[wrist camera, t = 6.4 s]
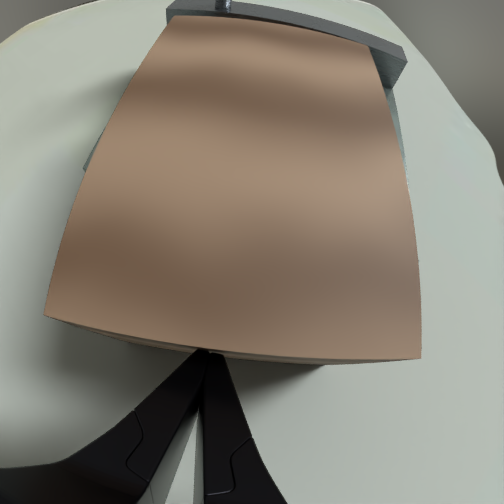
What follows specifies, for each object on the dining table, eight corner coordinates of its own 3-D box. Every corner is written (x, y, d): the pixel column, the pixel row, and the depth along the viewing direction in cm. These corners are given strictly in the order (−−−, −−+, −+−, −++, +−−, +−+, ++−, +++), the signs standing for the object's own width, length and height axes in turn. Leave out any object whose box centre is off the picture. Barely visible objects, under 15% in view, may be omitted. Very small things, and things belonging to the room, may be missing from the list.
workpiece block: (324, 364, 16) (421, 358, 8) (127, 341, 15) (43, 315, 7) (325, 139, 22) (367, 45, 14) (180, 118, 21) (174, 15, 13)
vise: (378, 263, 19) (562, 109, 5) (103, 203, 18) (5, -11, 4) (371, 101, 24) (437, -28, 10) (181, 59, 24) (180, -85, 10)
